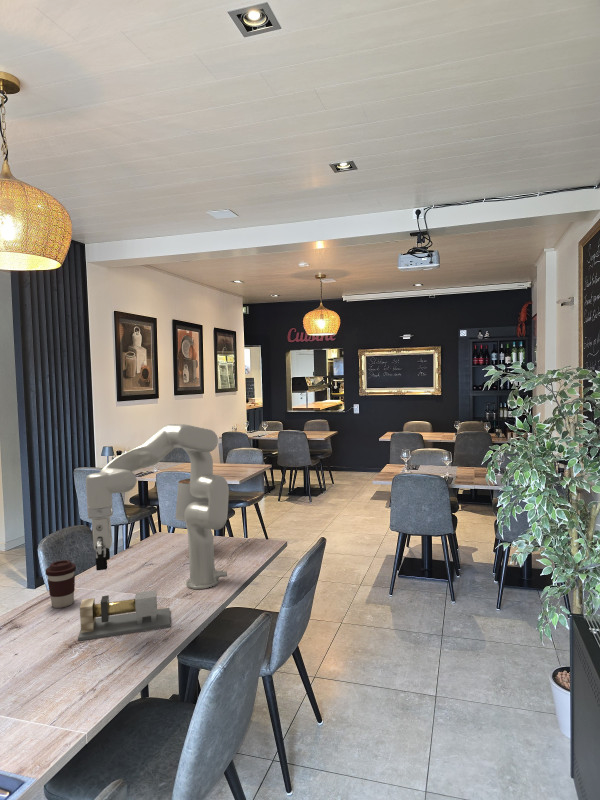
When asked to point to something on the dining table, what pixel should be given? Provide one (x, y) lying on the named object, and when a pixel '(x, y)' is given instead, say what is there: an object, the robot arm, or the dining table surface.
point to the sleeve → (146, 605)
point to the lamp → (185, 499)
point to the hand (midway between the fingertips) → (103, 564)
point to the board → (126, 625)
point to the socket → (87, 615)
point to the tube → (112, 608)
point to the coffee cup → (61, 583)
